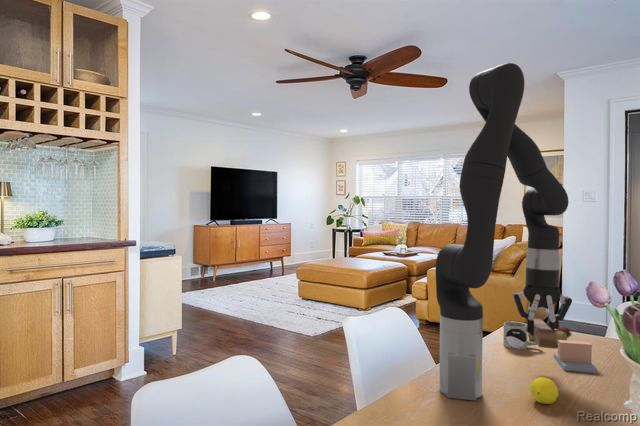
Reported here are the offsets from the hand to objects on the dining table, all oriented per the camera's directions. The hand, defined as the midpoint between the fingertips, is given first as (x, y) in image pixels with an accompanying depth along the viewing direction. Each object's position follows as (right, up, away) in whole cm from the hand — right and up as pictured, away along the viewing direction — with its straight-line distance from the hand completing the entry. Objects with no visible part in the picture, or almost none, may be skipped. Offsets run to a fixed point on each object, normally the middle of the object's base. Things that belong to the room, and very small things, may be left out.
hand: (540, 335), depth 112 cm
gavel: (+21, -10, +33) cm, 40 cm away
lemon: (-7, -10, -16) cm, 21 cm away
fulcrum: (+13, -10, +7) cm, 18 cm away
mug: (+5, -10, +23) cm, 25 cm away
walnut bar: (0, -1, 0) cm, 1 cm away
